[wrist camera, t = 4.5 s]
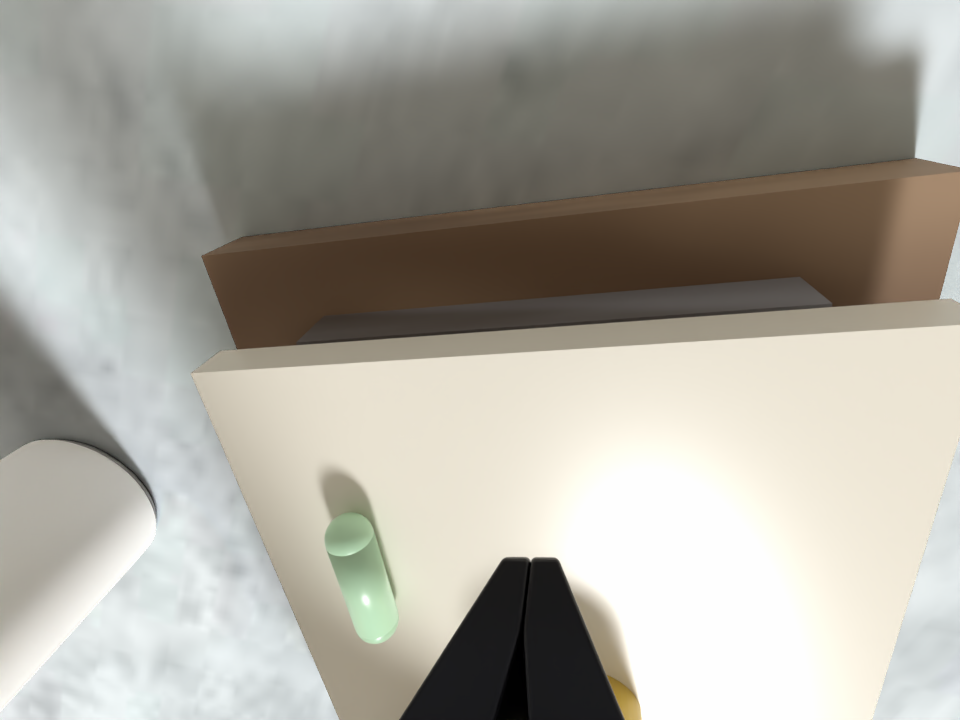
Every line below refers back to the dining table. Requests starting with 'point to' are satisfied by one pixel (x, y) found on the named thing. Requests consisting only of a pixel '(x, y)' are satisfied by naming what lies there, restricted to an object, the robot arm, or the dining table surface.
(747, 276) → the walnut base
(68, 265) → the dining table surface
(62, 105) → the dining table surface
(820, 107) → the dining table surface
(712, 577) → the plate
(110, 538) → the can
